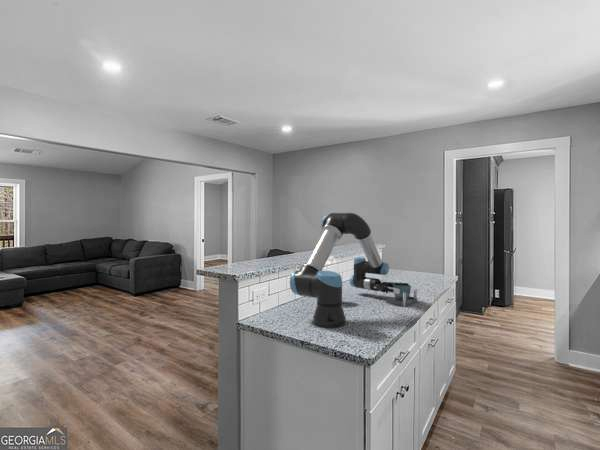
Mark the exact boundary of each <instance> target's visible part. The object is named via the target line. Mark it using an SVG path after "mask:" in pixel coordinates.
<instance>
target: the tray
mask: <svg viewBox="0 0 600 450" xmlns="http://www.w3.org/2000/svg"><path fill="white" fill-rule="evenodd" d="M385 303H386V304H390V305H394V306H400V307H409V306H410V305H411V306H412V305H413V304H416V303H418V289H417V288H413V296H410V295H409V298H408V299H407V301H406V293H405V292H403V301H401V300H397V299H396V297H395V296H394V297H391V298H389V297H386V298H385Z"/></svg>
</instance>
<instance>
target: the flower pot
mask: <svg viewBox="0 0 600 450" xmlns="http://www.w3.org/2000/svg"><path fill="white" fill-rule="evenodd" d="M392 284H393V288H397V289H400V294H396V293H393V294H394V297H396V299H397V300H401V301H403V292H405V293H406V301H407V299H408V298H409V296H410V295H411V291H412V285H411V284H409V283H408V282H401V283H400V282H394V283H392ZM410 285H411V286H410Z"/></svg>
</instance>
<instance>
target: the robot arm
mask: <svg viewBox="0 0 600 450" xmlns="http://www.w3.org/2000/svg"><path fill="white" fill-rule="evenodd" d="M320 226H321V227H320V228H321V230H322V234H321V236H320V238H319V240H318V241H317V243H316V244H315V247H314V249H313V251H312V252H311V254H310V256H309V258H308V260H307V262H306V263H305V264H302V265H301V267H300V268H299V270H294V271H293V272H292V273H291V274H290V277H289V288H290V290H291V292H292V293H293V294H295V295H297V296H300V297H303V296H304V297H306V298H307V297H308V298H314V299H315V298H316V307H315V311H314V314H313V316H312V317H313V321H312V323H313V324H314V325H316V326H319V327H322V328H338V327H343V326H344V325H346V323H347V318H346V315H345V312H344V308H343V279H342V275H341V274H340V273H338V272H335V271H332V270H323V269H324V267H325V265H326V264H327V263H326V262H327V261H328V259H329V257H330V255H331V253H332V251H333V250H334V247H335V246H336V242H337V241H339V240H341V239H342V237H343V235H352V236H353V237H354V239H356V240H358V243H359V245H360V247H361V249H362V251H363V253H364V255H365V257H364V256H362V257H361V256H356V257H354V258H353V275H351V276H350V278H349V284H350V285H349V286H351V287H354V288H355V289H363V290H367V291H369V292H370V291H373V292H382V293H384V294H389V293H392V294H394V293H396V294H400V289H397V288H393V284H392V283H395V282H391V281H382V280H381V279H380V278H376V277H375V278H374V277H370V276H369V277H368V276H367V274H373V275H380V276H386V275H387V274H389V270H390V265H389V263H388V262H385V261H383V260H382V258H381V255H380V254H379V250H378V248H377V246H376V244H375V242H374V240H373V237H372V235H371V233H372V230H371V228H370V226H369V224H368V223H367V221H366V220H365V219H364V218H363V217H361V216H360V215H358V214H357V213H353V212H330V213H329V212H328V213H326V214H325V215H324V216H323V217H322V220H321V225H320ZM399 283H402V282H401V281H400V282H399ZM409 285H410V286H411V287H412V285H411V284H409Z"/></svg>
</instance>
